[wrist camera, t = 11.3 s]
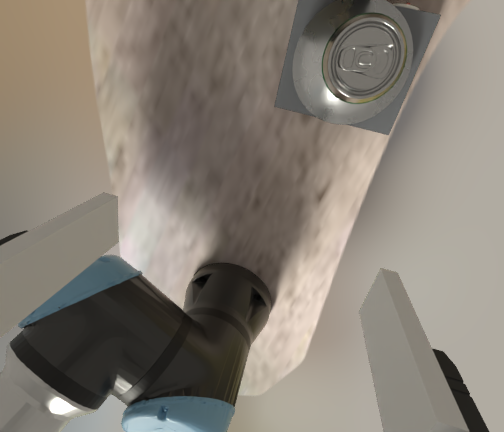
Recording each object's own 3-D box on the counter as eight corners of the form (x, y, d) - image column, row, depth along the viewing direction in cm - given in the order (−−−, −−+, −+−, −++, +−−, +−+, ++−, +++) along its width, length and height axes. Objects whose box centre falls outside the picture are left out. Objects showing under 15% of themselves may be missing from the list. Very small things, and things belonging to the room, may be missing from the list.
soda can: (368, 96, 28) (395, 110, 18) (317, 91, 29) (314, 100, 18) (384, 37, 26) (426, 11, 15) (328, 32, 26) (331, 5, 16)
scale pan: (379, 133, 31) (382, 136, 29) (282, 109, 32) (280, 110, 30) (430, 12, 25) (436, 8, 24) (311, -13, 27) (311, -17, 25)
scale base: (383, 130, 33) (388, 135, 31) (278, 104, 35) (274, 106, 32) (432, 14, 28) (443, 8, 25) (304, -12, 29) (303, -20, 27)
